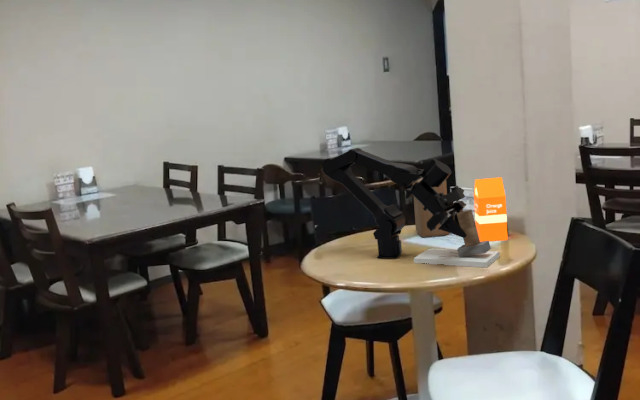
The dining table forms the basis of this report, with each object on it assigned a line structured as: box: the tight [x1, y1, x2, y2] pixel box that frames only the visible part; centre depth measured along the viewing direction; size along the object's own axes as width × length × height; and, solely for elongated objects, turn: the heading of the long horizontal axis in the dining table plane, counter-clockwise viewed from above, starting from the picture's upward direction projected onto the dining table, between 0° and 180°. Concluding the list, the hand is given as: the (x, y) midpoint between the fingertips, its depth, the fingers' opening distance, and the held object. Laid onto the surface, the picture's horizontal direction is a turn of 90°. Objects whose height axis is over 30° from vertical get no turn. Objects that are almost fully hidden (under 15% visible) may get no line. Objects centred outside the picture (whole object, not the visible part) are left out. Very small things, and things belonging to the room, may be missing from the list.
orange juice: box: [473, 176, 509, 243], centre depth 218 cm, size 8×9×20 cm
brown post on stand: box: [456, 209, 492, 257], centre depth 194 cm, size 8×5×12 cm, turn 58°
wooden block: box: [412, 178, 450, 238], centre depth 233 cm, size 10×10×20 cm
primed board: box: [413, 247, 500, 268], centre depth 198 cm, size 22×12×2 cm, turn 58°
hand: (467, 235), depth 195 cm, fingers closed on brown post on stand, 3 cm apart
